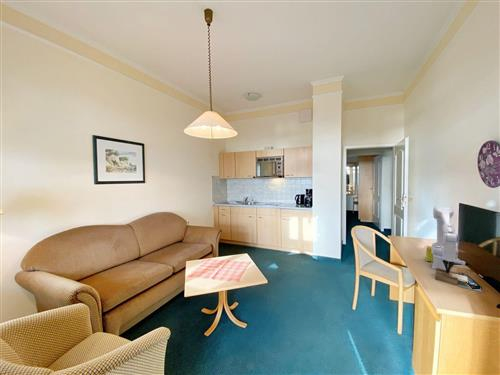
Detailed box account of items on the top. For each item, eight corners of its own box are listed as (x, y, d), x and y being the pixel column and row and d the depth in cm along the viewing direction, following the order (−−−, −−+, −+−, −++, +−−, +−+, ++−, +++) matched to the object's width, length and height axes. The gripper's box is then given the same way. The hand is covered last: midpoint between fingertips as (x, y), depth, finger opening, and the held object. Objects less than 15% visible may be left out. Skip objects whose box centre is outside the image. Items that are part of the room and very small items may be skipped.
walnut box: (435, 273, 140) (435, 267, 140) (456, 279, 134) (456, 272, 133) (435, 279, 133) (435, 272, 133) (457, 285, 126) (457, 278, 126)
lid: (449, 273, 134) (449, 269, 134) (466, 278, 129) (467, 274, 129) (449, 277, 129) (449, 273, 129) (467, 282, 124) (468, 278, 124)
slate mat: (456, 278, 134) (457, 278, 134) (478, 284, 128) (478, 284, 128) (458, 286, 125) (458, 285, 125) (481, 292, 119) (481, 292, 119)
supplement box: (425, 258, 165) (426, 245, 164) (435, 261, 161) (436, 247, 160) (425, 261, 160) (426, 247, 159) (436, 263, 157) (437, 249, 156)
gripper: (433, 250, 133) (432, 270, 135) (466, 256, 124) (464, 278, 125) (434, 247, 139) (432, 267, 140) (465, 253, 129) (463, 274, 130)
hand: (447, 272), depth 133 cm, fingers closed
